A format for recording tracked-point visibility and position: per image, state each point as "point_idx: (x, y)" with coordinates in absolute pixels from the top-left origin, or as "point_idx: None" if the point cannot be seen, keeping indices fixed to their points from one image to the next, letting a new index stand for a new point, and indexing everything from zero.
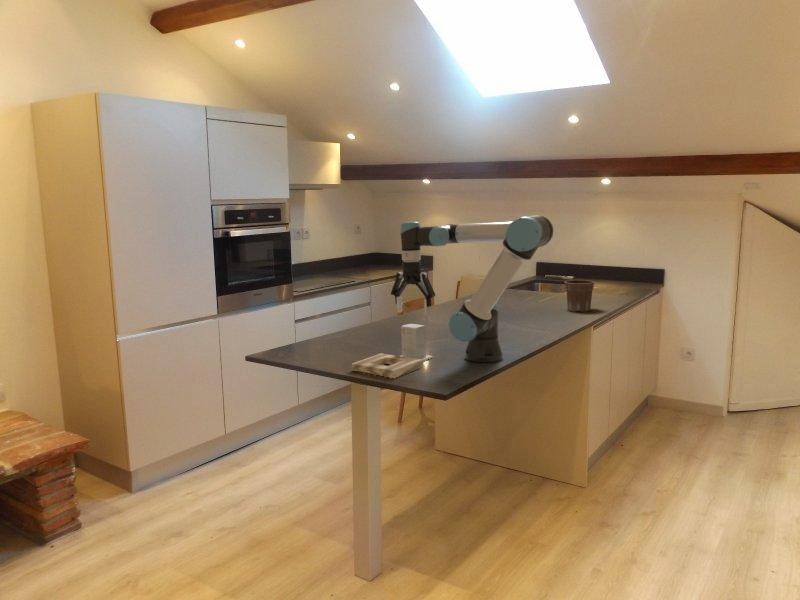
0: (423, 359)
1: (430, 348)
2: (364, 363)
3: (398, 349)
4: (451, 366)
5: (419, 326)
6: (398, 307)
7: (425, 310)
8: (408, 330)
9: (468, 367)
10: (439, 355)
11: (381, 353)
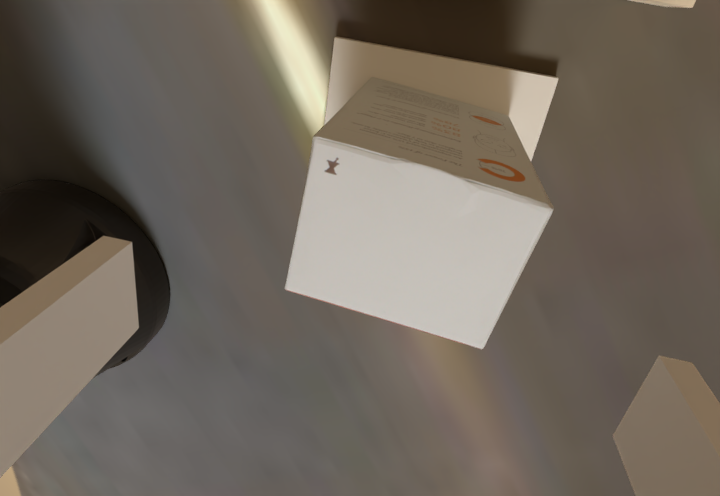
0: (331, 102)
1: (425, 382)
2: None
3: (618, 328)
4: (117, 47)
5: (313, 225)
6: (703, 428)
7: (63, 277)
8: (432, 156)
9: (25, 63)
10: None
11: (685, 5)
